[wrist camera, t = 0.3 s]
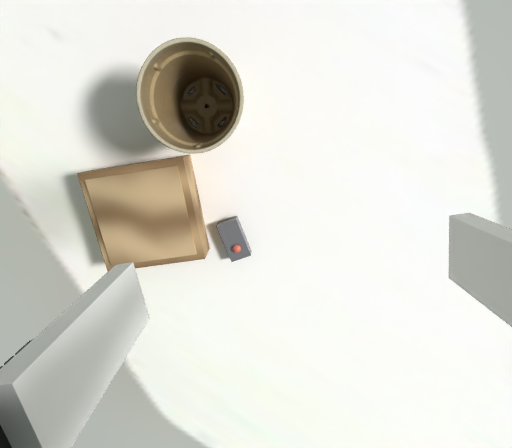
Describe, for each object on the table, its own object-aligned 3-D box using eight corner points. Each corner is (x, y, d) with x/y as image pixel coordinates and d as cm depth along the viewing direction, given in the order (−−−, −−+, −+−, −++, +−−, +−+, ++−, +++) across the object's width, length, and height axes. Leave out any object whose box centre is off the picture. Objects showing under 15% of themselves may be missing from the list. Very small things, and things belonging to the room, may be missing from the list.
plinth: (93, 169, 37) (75, 173, 34) (190, 154, 37) (182, 157, 33) (120, 260, 41) (106, 273, 37) (209, 248, 40) (204, 259, 36)
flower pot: (156, 131, 36) (124, 131, 28) (178, 47, 34) (151, 18, 25) (232, 160, 37) (223, 168, 29) (259, 79, 34) (258, 62, 26)
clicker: (218, 222, 39) (215, 227, 37) (237, 215, 39) (235, 220, 37) (233, 256, 41) (231, 262, 39) (251, 250, 40) (250, 256, 38)
